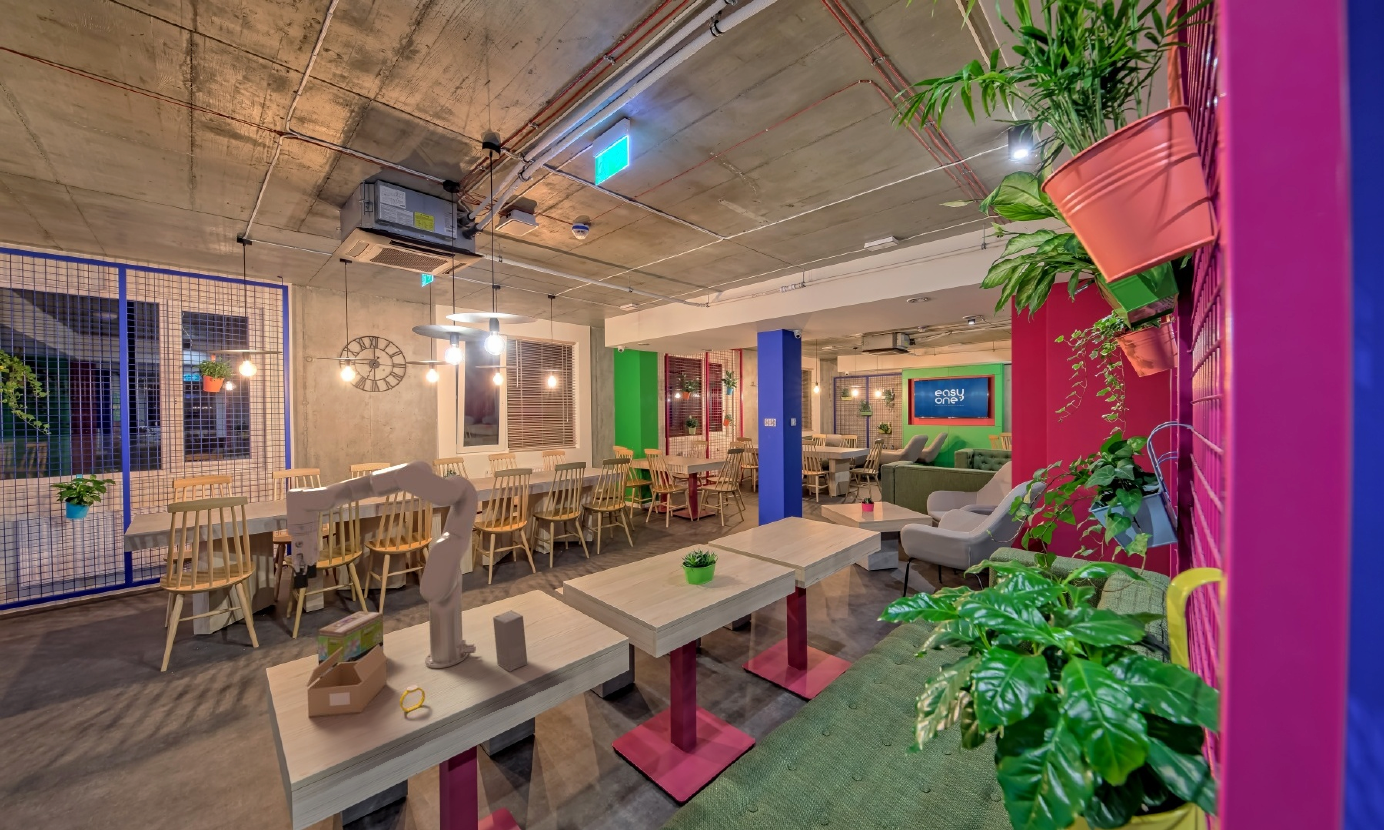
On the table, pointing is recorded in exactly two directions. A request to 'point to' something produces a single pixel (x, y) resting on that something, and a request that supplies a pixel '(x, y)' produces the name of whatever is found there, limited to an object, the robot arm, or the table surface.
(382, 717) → the table surface
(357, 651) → the tea box
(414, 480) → the robot arm
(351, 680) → the carton
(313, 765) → the table surface
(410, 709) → the watch
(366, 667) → the flap
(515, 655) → the skincare box
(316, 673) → the flap
